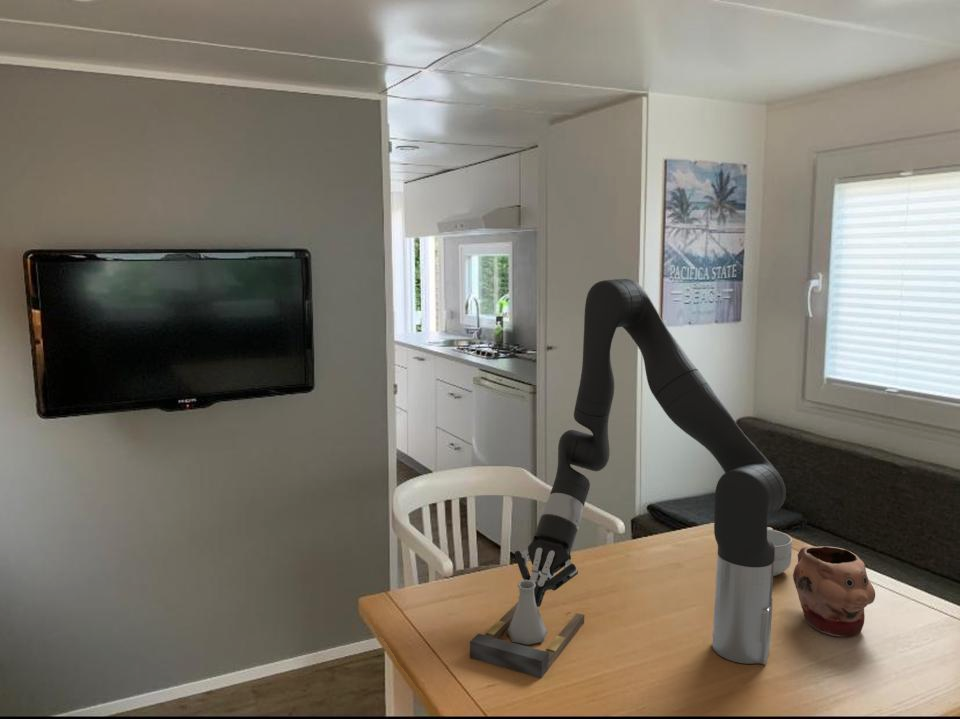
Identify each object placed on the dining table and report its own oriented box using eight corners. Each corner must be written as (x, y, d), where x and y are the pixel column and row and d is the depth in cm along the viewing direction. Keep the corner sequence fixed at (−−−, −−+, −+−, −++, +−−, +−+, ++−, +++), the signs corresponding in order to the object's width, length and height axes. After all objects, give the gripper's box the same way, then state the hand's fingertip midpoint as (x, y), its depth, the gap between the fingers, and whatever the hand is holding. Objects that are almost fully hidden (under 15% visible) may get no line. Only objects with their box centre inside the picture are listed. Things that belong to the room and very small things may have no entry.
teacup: (782, 585, 156) (784, 549, 155) (730, 572, 163) (733, 537, 162) (799, 564, 167) (802, 530, 166) (750, 552, 174) (753, 520, 173)
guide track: (584, 623, 139) (584, 607, 139) (541, 678, 120) (541, 660, 120) (519, 607, 145) (520, 592, 144) (469, 657, 126) (470, 641, 126)
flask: (546, 622, 137) (545, 573, 135) (548, 646, 130) (548, 594, 128) (507, 622, 138) (506, 573, 135) (507, 646, 131) (506, 595, 128)
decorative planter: (765, 601, 149) (769, 535, 147) (817, 595, 152) (822, 530, 150) (835, 652, 130) (841, 576, 128) (893, 644, 132) (900, 570, 131)
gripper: (523, 506, 144) (492, 590, 135) (587, 520, 138) (559, 609, 129) (533, 524, 149) (504, 605, 141) (595, 537, 143) (569, 624, 134)
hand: (531, 607), depth 135 cm, fingers closed
